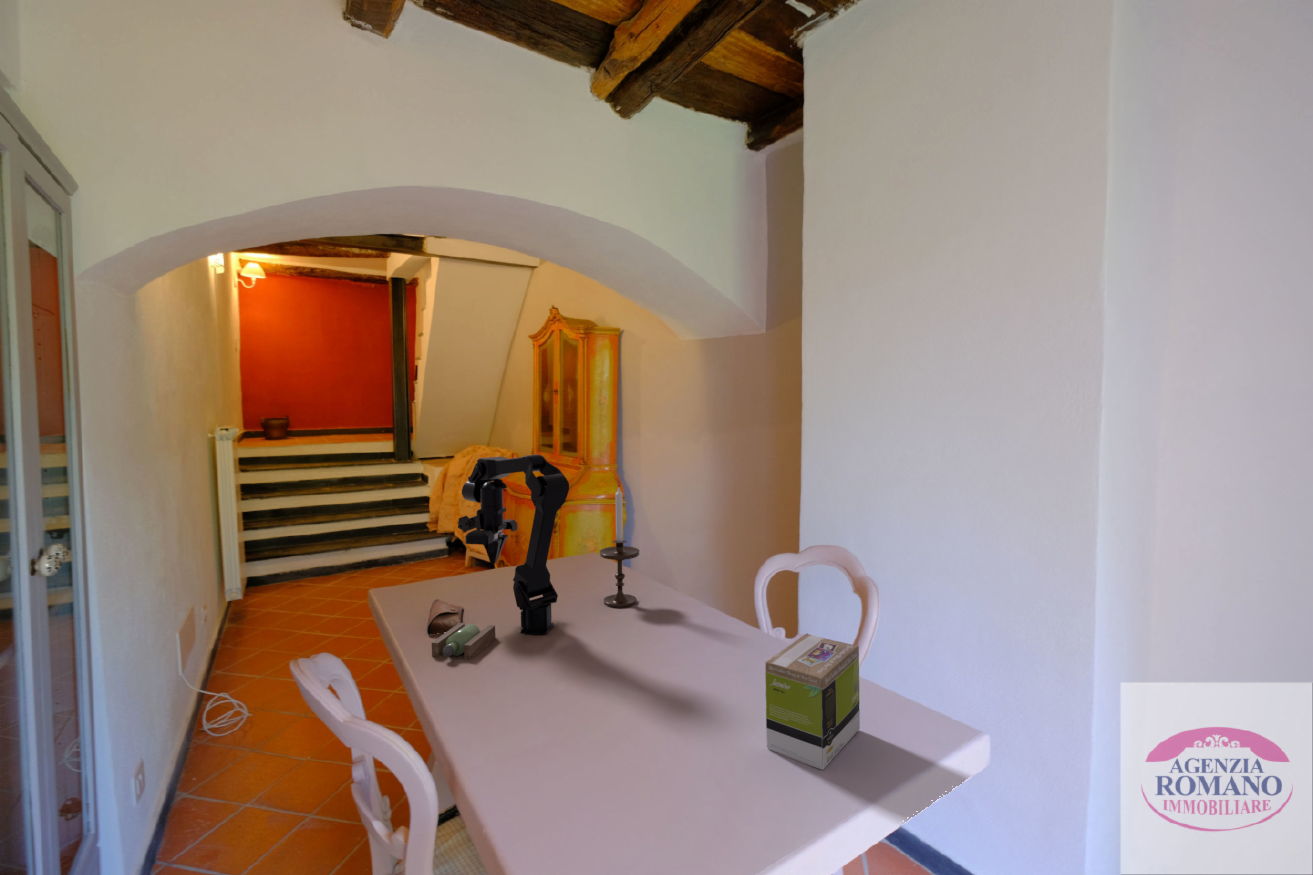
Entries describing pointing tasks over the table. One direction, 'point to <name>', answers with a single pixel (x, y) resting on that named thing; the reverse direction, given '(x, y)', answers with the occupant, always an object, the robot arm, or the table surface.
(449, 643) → the bottle
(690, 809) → the table surface
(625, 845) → the table surface
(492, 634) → the cradle
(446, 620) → the sunglasses case
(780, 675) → the tea box
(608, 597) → the candlestick
